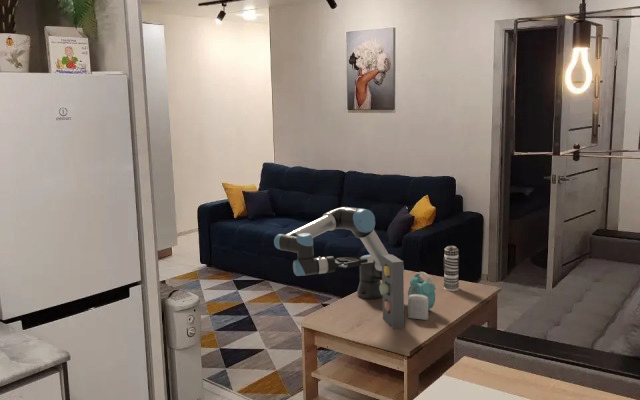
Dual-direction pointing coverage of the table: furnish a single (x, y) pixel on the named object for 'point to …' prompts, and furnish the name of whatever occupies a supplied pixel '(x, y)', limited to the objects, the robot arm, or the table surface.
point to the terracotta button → (387, 305)
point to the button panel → (394, 291)
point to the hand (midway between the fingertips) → (372, 259)
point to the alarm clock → (423, 288)
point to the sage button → (384, 288)
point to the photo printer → (418, 307)
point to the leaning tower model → (451, 268)
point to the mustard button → (387, 270)
